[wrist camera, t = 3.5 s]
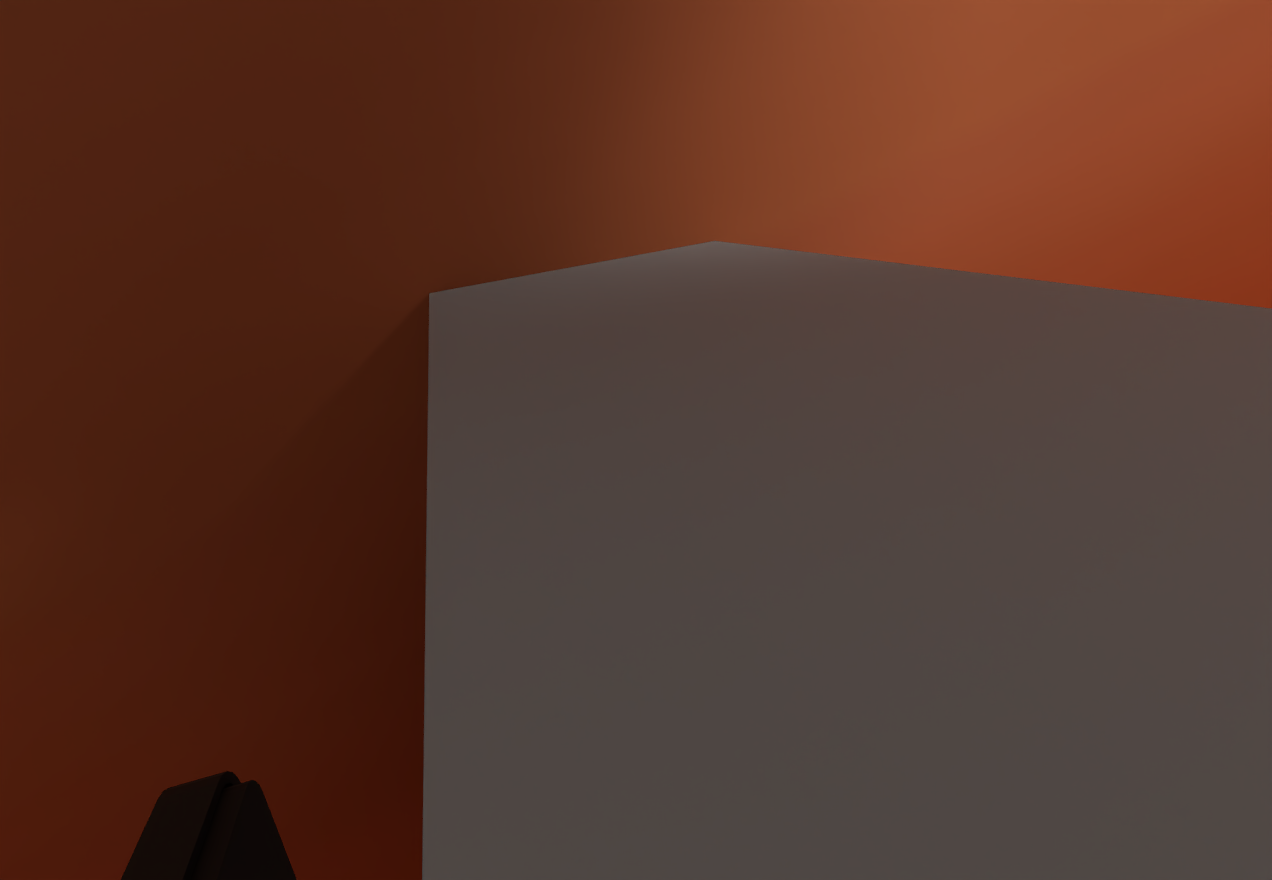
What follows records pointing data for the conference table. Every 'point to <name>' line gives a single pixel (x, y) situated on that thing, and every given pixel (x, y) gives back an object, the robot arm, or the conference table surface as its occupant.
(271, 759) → the conference table surface
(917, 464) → the gray rectangular block
